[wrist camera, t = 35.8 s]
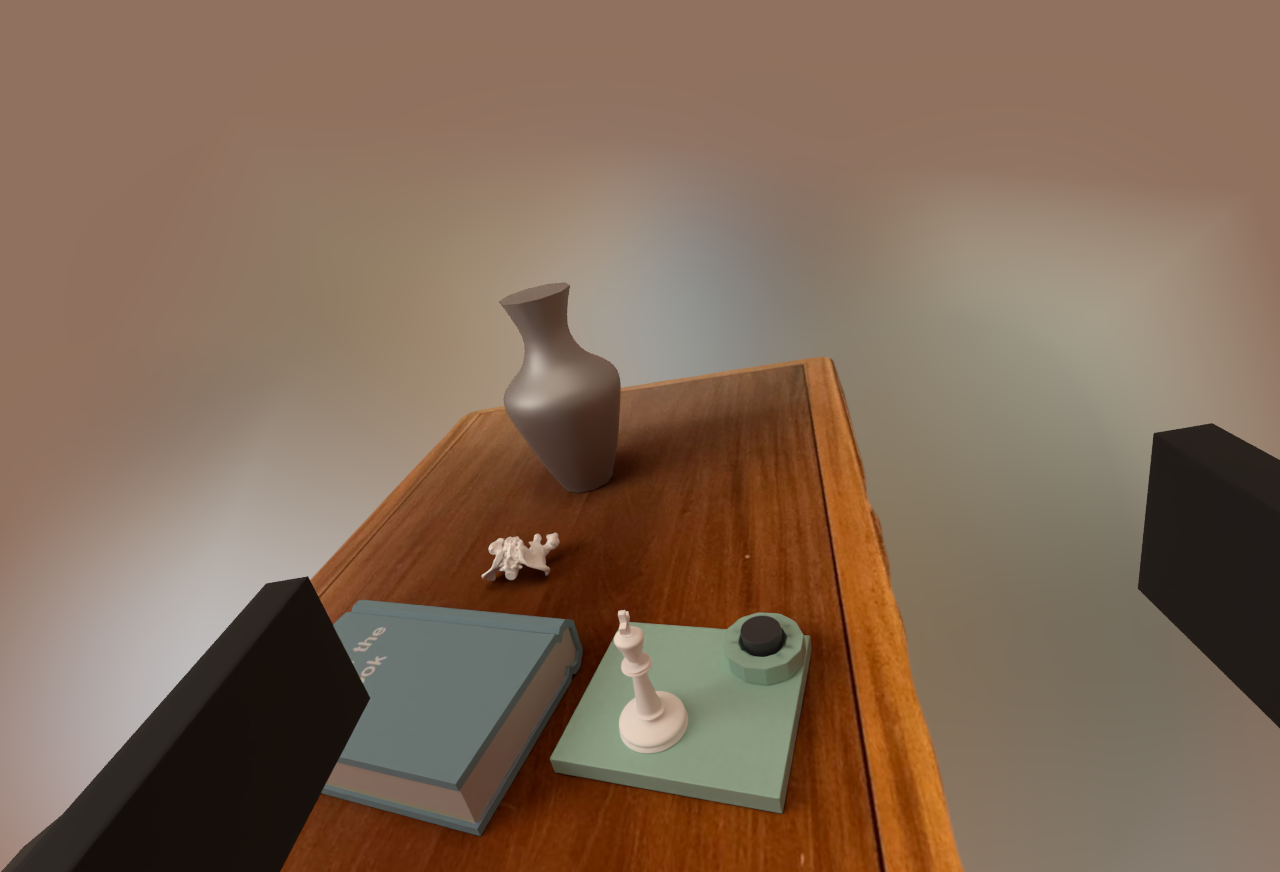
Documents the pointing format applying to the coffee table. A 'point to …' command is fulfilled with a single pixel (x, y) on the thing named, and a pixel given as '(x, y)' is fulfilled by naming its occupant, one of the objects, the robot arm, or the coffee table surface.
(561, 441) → the vase
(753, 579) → the coffee table surface
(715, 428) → the coffee table surface
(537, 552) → the pelvis model
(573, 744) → the scale
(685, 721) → the chess piece
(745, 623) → the button
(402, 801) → the book
